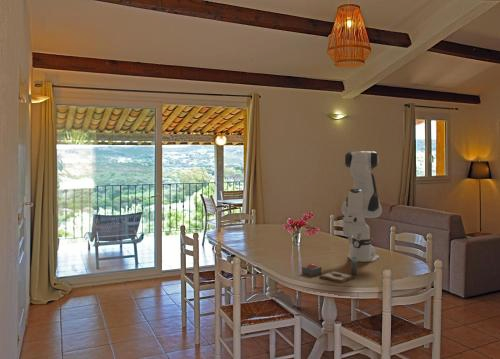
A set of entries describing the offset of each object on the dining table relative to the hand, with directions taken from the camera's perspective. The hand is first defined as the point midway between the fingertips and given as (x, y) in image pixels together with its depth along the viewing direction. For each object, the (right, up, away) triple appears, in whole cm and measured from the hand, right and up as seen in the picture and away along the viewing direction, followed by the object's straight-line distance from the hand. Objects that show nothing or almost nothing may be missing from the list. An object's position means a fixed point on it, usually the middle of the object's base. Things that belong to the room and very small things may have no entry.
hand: (354, 241), depth 245 cm
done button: (-24, -17, +3) cm, 30 cm away
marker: (0, -19, +1) cm, 20 cm away
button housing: (-24, -19, +3) cm, 31 cm away
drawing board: (-11, -20, -5) cm, 23 cm away
